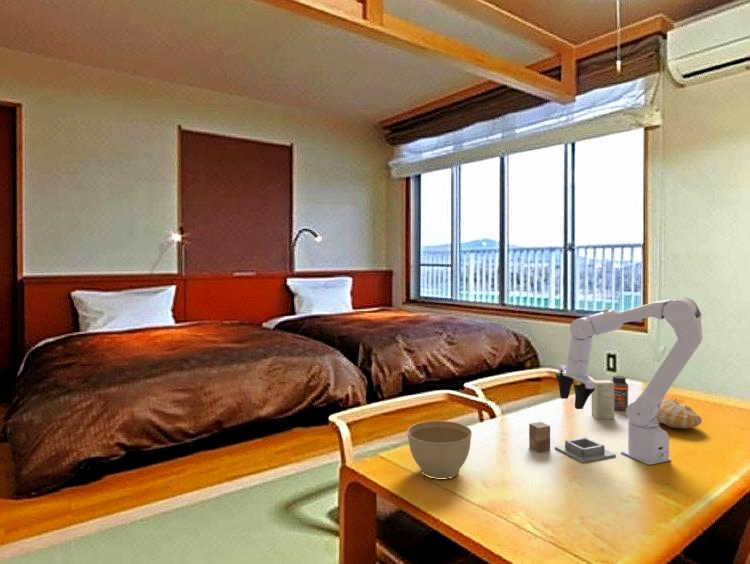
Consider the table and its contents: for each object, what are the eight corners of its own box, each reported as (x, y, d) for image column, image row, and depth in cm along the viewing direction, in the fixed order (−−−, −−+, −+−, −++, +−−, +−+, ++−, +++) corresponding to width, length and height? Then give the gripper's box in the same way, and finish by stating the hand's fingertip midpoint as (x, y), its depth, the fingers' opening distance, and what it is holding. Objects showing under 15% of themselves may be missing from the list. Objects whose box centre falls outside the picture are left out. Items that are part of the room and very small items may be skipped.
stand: (615, 456, 141) (615, 447, 140) (583, 463, 137) (583, 453, 137) (586, 443, 151) (586, 434, 151) (554, 448, 147) (554, 439, 147)
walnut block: (550, 450, 146) (550, 426, 146) (538, 452, 144) (538, 427, 144) (540, 445, 150) (540, 421, 149) (529, 447, 148) (529, 423, 148)
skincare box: (610, 415, 176) (610, 379, 175) (614, 419, 171) (614, 382, 171) (590, 414, 176) (590, 379, 176) (595, 419, 172) (595, 382, 171)
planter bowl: (398, 466, 138) (397, 425, 137) (452, 456, 143) (451, 417, 143) (425, 491, 122) (424, 446, 122) (484, 479, 128) (484, 436, 128)
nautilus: (659, 413, 178) (710, 424, 168) (640, 425, 163) (695, 438, 152) (661, 390, 178) (712, 400, 168) (642, 400, 162) (697, 412, 152)
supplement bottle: (610, 410, 181) (610, 378, 180) (608, 405, 186) (608, 374, 186) (629, 411, 179) (629, 379, 178) (626, 406, 185) (626, 375, 184)
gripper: (552, 350, 157) (545, 393, 159) (580, 366, 143) (573, 413, 145) (573, 351, 158) (566, 394, 160) (603, 367, 144) (595, 413, 146)
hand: (571, 403), depth 153 cm, fingers open, 7 cm apart
